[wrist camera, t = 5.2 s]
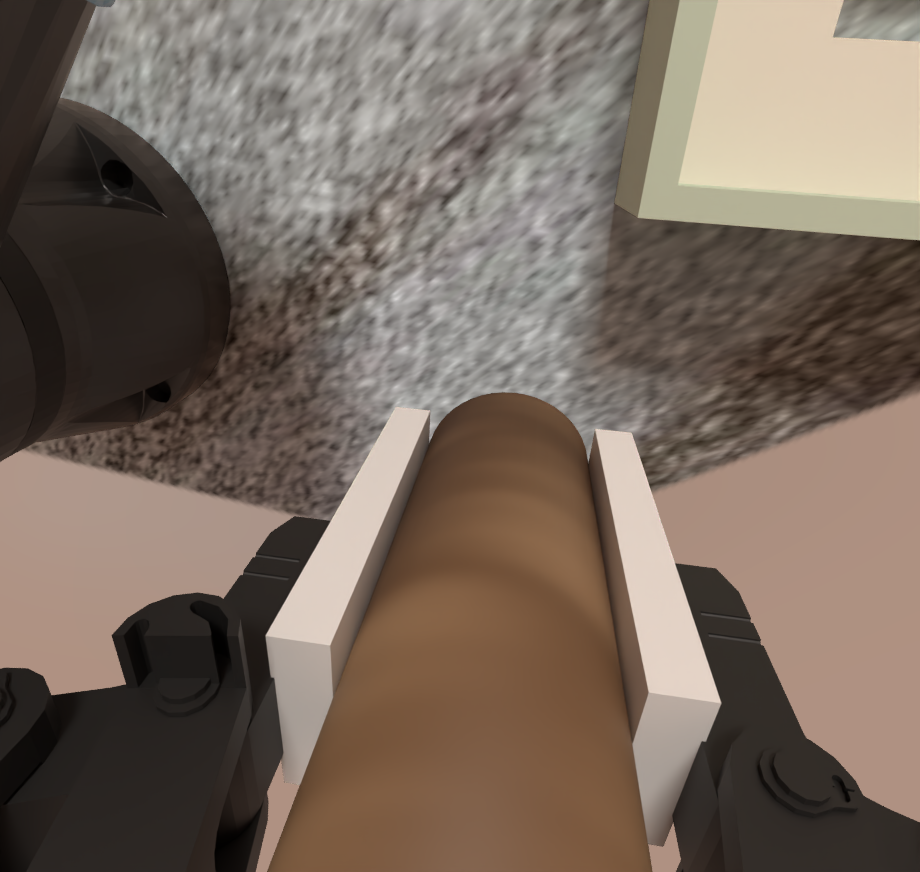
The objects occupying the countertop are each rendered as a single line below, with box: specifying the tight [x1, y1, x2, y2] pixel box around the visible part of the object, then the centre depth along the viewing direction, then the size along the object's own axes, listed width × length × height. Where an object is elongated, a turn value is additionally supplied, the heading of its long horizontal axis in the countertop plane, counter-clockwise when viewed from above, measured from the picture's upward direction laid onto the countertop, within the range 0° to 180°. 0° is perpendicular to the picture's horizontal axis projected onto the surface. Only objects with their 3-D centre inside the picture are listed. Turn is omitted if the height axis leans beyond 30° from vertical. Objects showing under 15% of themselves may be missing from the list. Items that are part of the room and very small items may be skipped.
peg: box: [267, 392, 652, 872], centre depth 7 cm, size 4×4×12 cm
